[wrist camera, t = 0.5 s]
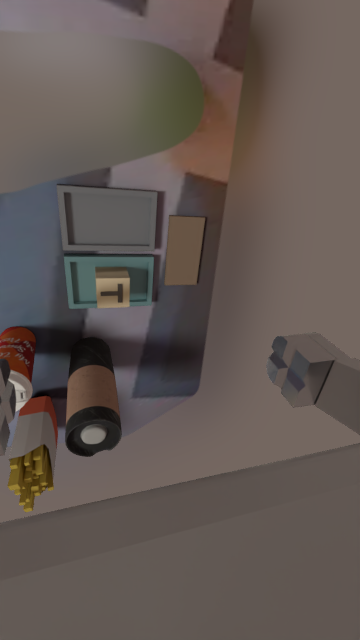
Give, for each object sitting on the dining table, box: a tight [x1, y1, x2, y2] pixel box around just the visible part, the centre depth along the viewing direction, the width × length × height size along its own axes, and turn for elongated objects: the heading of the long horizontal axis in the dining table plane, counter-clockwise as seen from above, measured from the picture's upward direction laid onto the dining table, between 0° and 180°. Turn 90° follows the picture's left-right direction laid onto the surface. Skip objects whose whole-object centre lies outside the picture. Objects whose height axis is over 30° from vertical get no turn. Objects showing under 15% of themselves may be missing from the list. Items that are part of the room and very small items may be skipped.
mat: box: [164, 215, 205, 285], centre depth 51 cm, size 12×6×1 cm, turn 174°
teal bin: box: [64, 254, 154, 309], centre depth 50 cm, size 9×14×2 cm, turn 84°
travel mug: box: [65, 337, 122, 457], centre depth 48 cm, size 8×8×20 cm
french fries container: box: [8, 396, 58, 512], centre depth 53 cm, size 5×11×18 cm, turn 0°
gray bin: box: [57, 184, 157, 251], centre depth 45 cm, size 9×14×2 cm, turn 84°
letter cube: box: [95, 267, 130, 308], centre depth 48 cm, size 5×5×5 cm
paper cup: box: [0, 327, 36, 412], centre depth 46 cm, size 8×8×14 cm
